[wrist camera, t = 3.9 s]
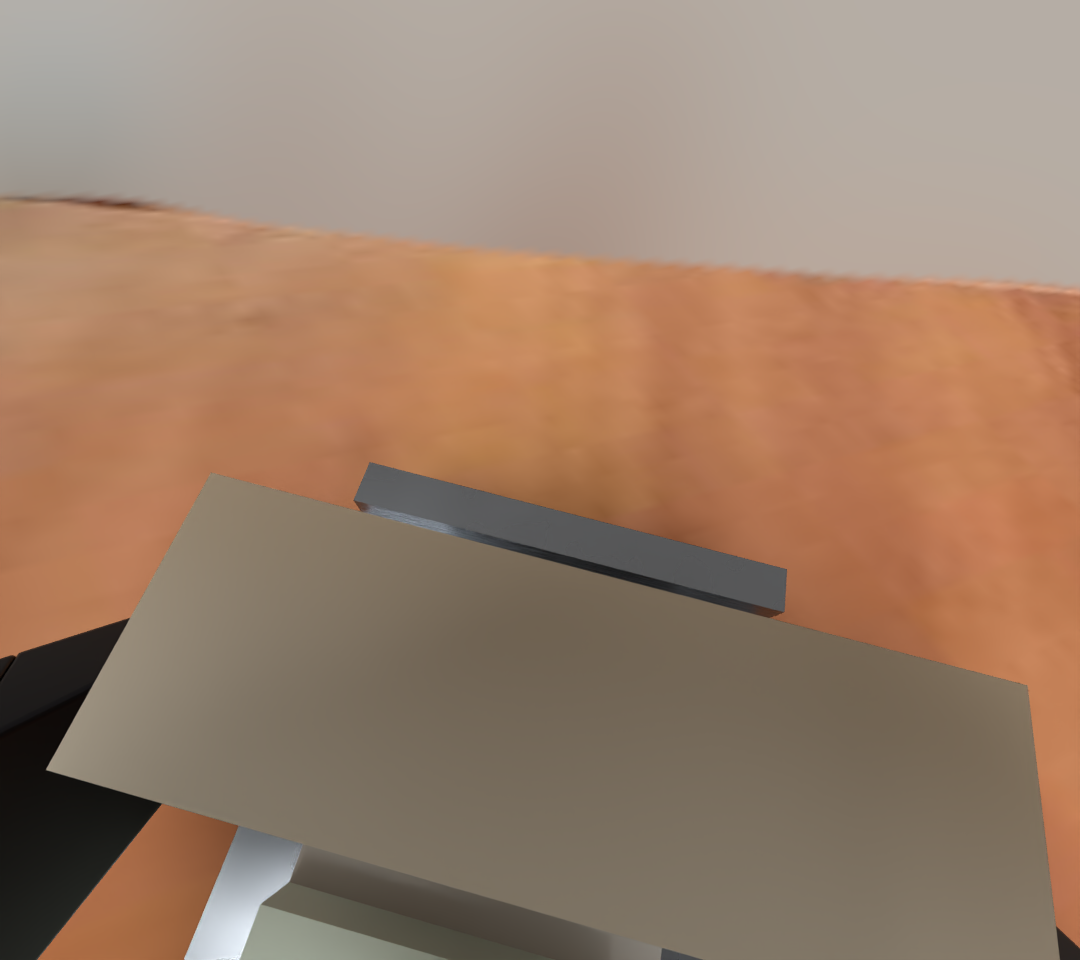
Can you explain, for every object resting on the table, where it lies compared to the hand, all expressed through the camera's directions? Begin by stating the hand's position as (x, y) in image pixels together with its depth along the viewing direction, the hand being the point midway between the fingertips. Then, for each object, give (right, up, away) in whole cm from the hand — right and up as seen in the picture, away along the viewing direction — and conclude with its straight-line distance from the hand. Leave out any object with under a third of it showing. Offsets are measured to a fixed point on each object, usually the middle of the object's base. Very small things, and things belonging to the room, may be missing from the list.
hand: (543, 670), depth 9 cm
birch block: (-1, -3, +5) cm, 6 cm away
